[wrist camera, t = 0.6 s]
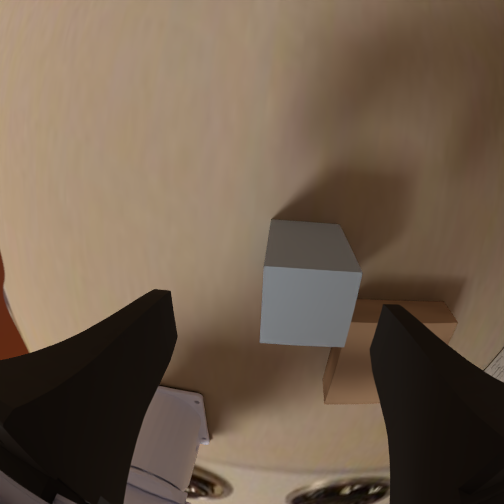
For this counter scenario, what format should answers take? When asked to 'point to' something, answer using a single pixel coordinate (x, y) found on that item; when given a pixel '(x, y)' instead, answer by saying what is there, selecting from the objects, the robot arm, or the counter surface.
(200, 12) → the counter surface
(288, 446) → the counter surface
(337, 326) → the slate-blue block
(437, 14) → the counter surface
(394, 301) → the tan flat block
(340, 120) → the counter surface
